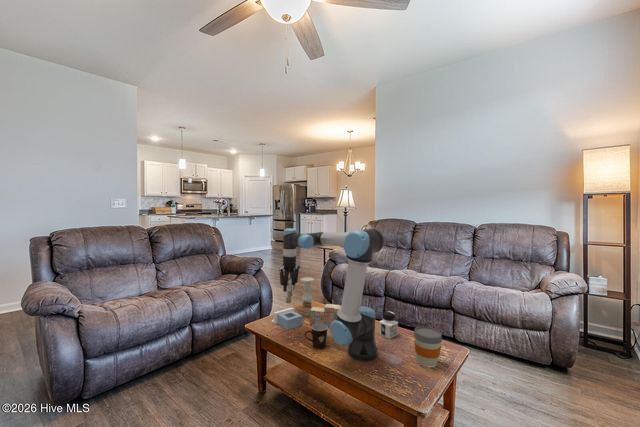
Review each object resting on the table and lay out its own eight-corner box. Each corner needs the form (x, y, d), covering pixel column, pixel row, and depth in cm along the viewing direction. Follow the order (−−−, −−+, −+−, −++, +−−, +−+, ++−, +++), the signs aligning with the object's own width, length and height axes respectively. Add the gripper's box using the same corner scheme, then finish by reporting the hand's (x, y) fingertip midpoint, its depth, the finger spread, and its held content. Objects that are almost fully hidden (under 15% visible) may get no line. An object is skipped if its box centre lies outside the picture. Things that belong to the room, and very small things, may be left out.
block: (302, 325, 173) (302, 315, 173) (287, 330, 166) (287, 320, 166) (292, 319, 181) (292, 310, 181) (277, 323, 174) (277, 314, 174)
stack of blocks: (309, 324, 174) (309, 305, 174) (312, 320, 180) (312, 301, 180) (343, 329, 169) (344, 309, 169) (345, 325, 175) (345, 305, 175)
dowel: (292, 302, 161) (292, 278, 160) (287, 303, 159) (288, 279, 158) (289, 301, 163) (289, 277, 163) (284, 302, 161) (285, 278, 161)
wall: (294, 318, 182) (294, 308, 182) (275, 324, 173) (275, 313, 173) (289, 316, 186) (289, 305, 186) (271, 321, 177) (271, 310, 177)
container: (389, 339, 158) (390, 316, 157) (378, 334, 164) (379, 312, 163) (397, 335, 163) (398, 313, 162) (386, 330, 169) (387, 309, 168)
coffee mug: (327, 342, 153) (328, 324, 152) (326, 350, 144) (327, 331, 144) (306, 340, 154) (307, 322, 154) (304, 348, 145) (304, 329, 145)
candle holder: (309, 318, 184) (310, 282, 183) (295, 314, 190) (296, 279, 189) (317, 312, 194) (318, 278, 193) (304, 309, 199) (305, 275, 198)
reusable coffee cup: (408, 362, 135) (410, 332, 134) (418, 352, 144) (419, 323, 144) (435, 373, 127) (437, 341, 126) (444, 362, 136) (445, 331, 136)
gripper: (297, 253, 168) (296, 291, 169) (274, 256, 158) (273, 297, 159) (304, 255, 162) (303, 295, 163) (281, 258, 152) (280, 301, 153)
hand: (288, 296), depth 161 cm, fingers closed on dowel, 3 cm apart
